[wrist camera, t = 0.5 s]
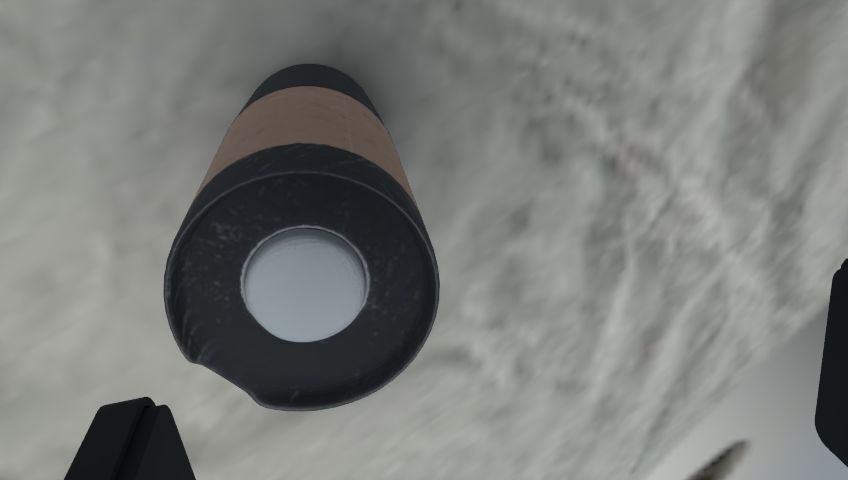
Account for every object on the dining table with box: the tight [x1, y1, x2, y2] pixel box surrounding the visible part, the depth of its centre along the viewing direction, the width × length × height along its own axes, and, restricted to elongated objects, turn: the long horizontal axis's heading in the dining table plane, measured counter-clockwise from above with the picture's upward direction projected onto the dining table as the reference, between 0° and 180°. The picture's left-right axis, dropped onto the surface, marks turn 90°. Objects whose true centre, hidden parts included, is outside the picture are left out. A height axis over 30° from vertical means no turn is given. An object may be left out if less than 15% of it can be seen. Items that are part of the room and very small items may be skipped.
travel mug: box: [164, 64, 440, 411], centre depth 27 cm, size 8×8×20 cm
